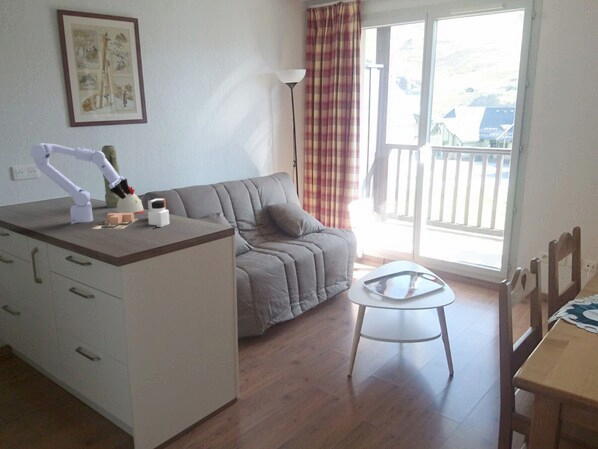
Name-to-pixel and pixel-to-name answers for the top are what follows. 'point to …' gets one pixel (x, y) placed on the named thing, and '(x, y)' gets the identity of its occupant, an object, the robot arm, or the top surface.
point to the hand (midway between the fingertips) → (126, 195)
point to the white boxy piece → (154, 200)
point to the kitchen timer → (130, 204)
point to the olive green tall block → (109, 196)
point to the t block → (119, 217)
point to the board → (112, 225)
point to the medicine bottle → (158, 214)
